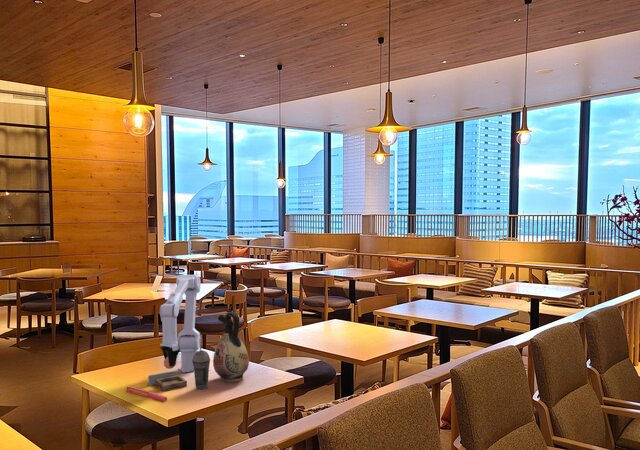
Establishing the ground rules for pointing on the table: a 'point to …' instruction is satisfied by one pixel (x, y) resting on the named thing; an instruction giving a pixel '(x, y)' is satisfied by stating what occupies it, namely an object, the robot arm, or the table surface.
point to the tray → (171, 383)
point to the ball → (167, 363)
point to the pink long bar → (146, 393)
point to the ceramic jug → (230, 351)
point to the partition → (160, 377)
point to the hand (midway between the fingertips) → (170, 364)
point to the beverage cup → (201, 369)
